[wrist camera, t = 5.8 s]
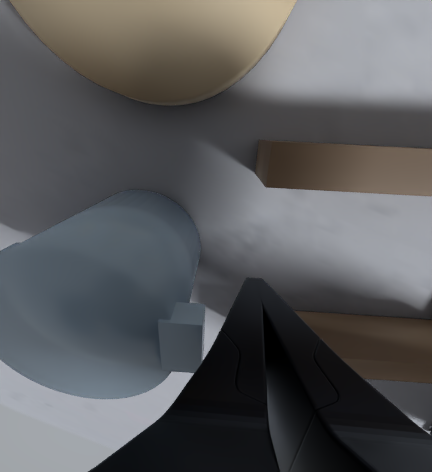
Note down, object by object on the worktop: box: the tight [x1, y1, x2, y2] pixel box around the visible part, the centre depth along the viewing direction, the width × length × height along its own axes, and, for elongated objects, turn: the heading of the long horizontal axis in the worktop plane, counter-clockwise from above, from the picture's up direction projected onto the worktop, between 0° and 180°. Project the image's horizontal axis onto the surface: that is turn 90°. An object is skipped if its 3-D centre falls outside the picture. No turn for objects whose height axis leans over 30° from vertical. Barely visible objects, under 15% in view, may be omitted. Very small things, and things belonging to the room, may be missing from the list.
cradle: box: [255, 140, 432, 383], centre depth 10 cm, size 11×13×3 cm
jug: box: [0, 190, 205, 399], centre depth 9 cm, size 6×9×6 cm, turn 87°
